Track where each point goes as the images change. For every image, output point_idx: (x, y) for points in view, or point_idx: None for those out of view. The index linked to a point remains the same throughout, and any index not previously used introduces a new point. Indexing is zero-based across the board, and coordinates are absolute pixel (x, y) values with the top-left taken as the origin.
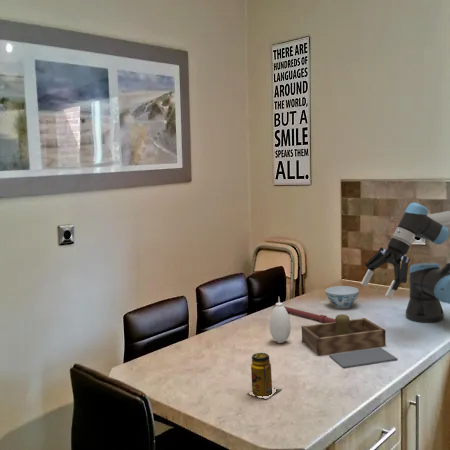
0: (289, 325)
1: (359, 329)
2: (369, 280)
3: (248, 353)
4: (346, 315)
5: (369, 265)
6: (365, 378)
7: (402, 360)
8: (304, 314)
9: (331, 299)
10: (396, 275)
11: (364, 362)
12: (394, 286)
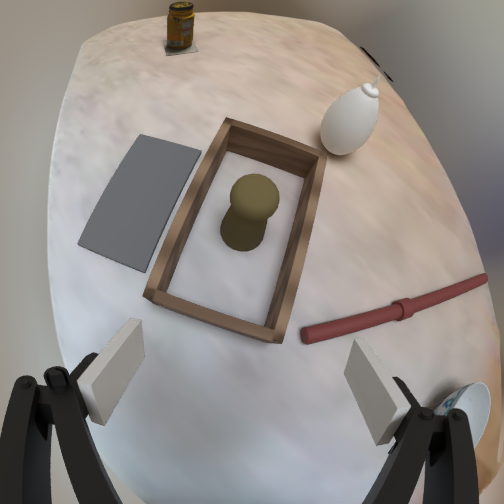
0: (332, 127)
1: (270, 316)
2: (356, 398)
3: (310, 91)
4: (249, 201)
5: (431, 427)
6: (88, 139)
7: (71, 252)
8: (438, 290)
9: (459, 388)
10: (64, 414)
11: (118, 174)
12: (88, 365)
